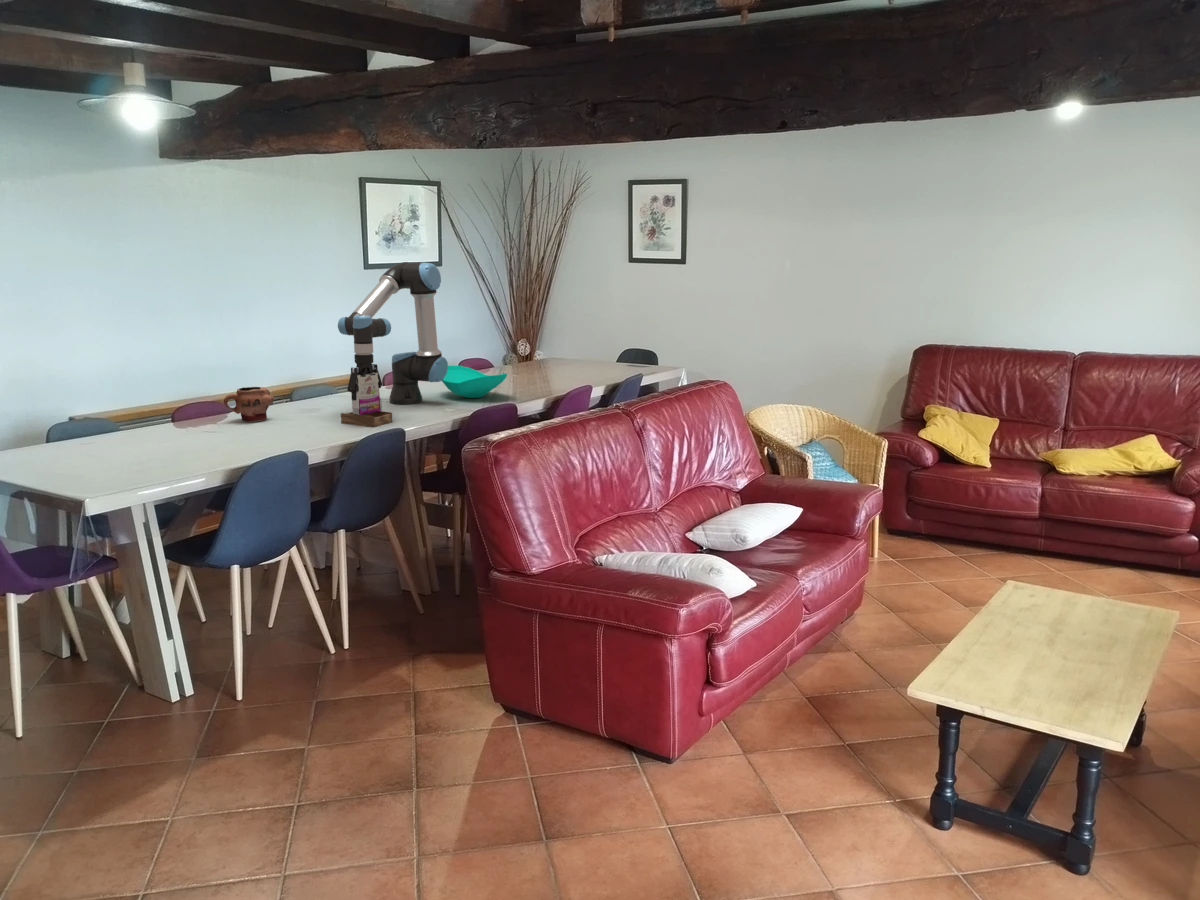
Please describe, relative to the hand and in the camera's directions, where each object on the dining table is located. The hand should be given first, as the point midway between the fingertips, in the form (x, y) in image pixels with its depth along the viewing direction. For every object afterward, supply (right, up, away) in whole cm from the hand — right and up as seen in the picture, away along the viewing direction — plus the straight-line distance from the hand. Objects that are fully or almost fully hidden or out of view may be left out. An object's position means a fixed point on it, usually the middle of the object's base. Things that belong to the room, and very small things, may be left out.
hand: (365, 405), depth 382 cm
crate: (0, -7, +2) cm, 7 cm away
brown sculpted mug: (-49, -6, +2) cm, 49 cm away
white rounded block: (0, -4, +14) cm, 14 cm away
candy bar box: (0, -3, +1) cm, 3 cm away
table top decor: (+36, +7, +64) cm, 74 cm away
